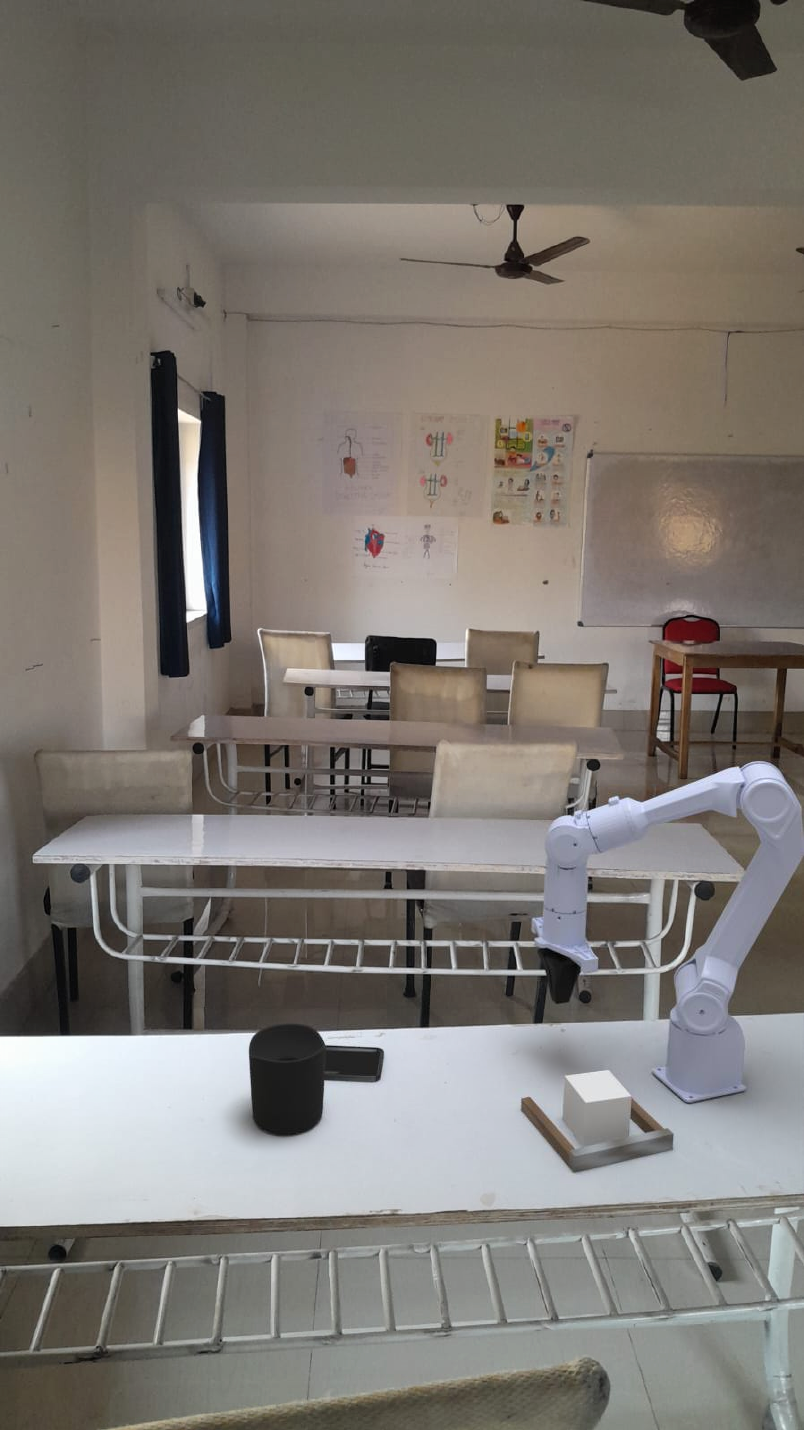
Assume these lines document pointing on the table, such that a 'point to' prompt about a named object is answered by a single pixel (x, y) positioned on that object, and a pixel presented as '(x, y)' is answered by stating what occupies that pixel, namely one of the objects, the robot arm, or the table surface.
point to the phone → (353, 1063)
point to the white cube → (596, 1107)
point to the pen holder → (287, 1078)
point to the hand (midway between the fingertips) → (560, 1001)
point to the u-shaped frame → (608, 1151)
